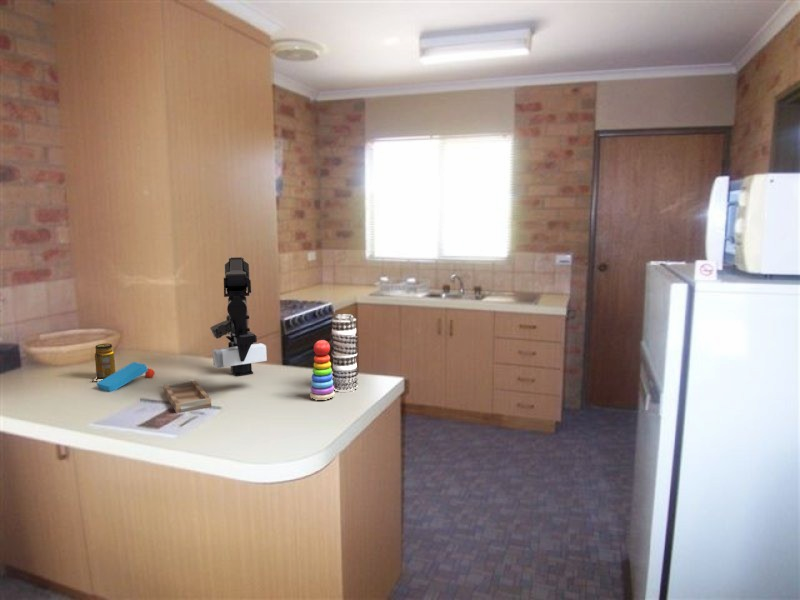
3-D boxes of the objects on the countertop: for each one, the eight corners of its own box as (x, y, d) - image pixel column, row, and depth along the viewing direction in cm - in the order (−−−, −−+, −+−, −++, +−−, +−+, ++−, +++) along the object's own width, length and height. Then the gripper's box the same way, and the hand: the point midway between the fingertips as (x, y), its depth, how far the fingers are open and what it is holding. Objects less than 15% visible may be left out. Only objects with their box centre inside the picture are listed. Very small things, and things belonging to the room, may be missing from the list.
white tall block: (262, 357, 184) (261, 343, 183) (266, 360, 180) (266, 346, 179) (213, 364, 176) (212, 349, 175) (217, 368, 172) (216, 352, 171)
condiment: (119, 374, 199) (116, 342, 197) (113, 381, 191) (109, 347, 189) (97, 375, 198) (94, 343, 196) (90, 382, 190) (86, 349, 188)
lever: (115, 404, 182) (160, 376, 196) (108, 386, 179) (154, 359, 193) (103, 400, 185) (148, 373, 199) (96, 383, 183) (142, 357, 196)
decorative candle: (325, 388, 183) (323, 315, 179) (346, 382, 189) (345, 311, 185) (343, 395, 176) (342, 319, 172) (364, 388, 183) (363, 314, 179)
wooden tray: (164, 392, 179) (163, 385, 178) (195, 387, 184) (195, 380, 184) (176, 413, 161) (175, 405, 160) (211, 406, 166) (211, 398, 166)
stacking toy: (305, 399, 172) (303, 341, 169) (318, 392, 179) (316, 336, 176) (327, 403, 169) (325, 344, 166) (339, 395, 176) (338, 338, 173)
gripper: (205, 310, 179) (208, 356, 182) (219, 320, 163) (222, 370, 166) (239, 307, 185) (241, 352, 187) (256, 316, 169) (258, 365, 172)
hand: (240, 359), depth 178 cm, fingers closed on white tall block, 4 cm apart
